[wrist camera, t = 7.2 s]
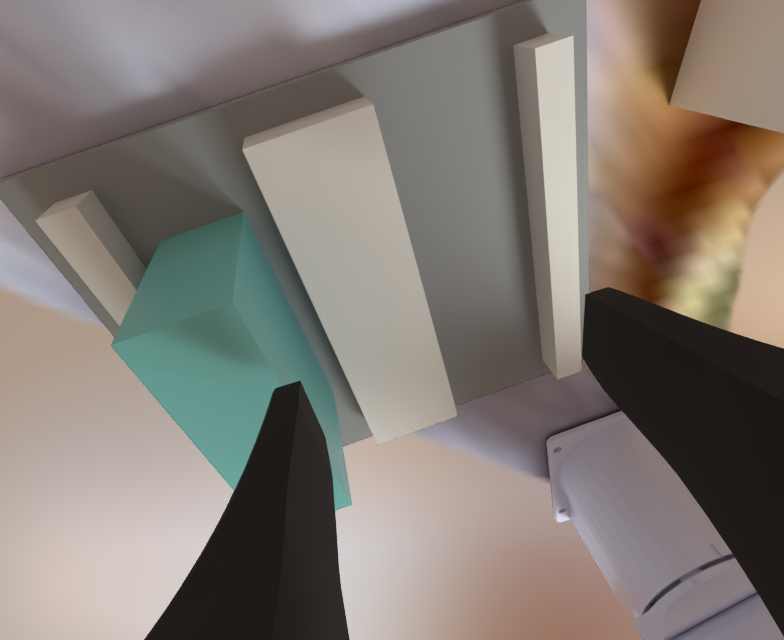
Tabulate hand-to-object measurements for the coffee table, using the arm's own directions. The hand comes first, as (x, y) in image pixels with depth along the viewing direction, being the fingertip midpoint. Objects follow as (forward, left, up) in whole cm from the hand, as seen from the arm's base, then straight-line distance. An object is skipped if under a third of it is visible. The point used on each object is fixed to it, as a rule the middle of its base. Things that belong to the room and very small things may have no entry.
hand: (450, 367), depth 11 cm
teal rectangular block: (-2, +6, -8) cm, 10 cm away
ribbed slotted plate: (-2, +1, -8) cm, 9 cm away
